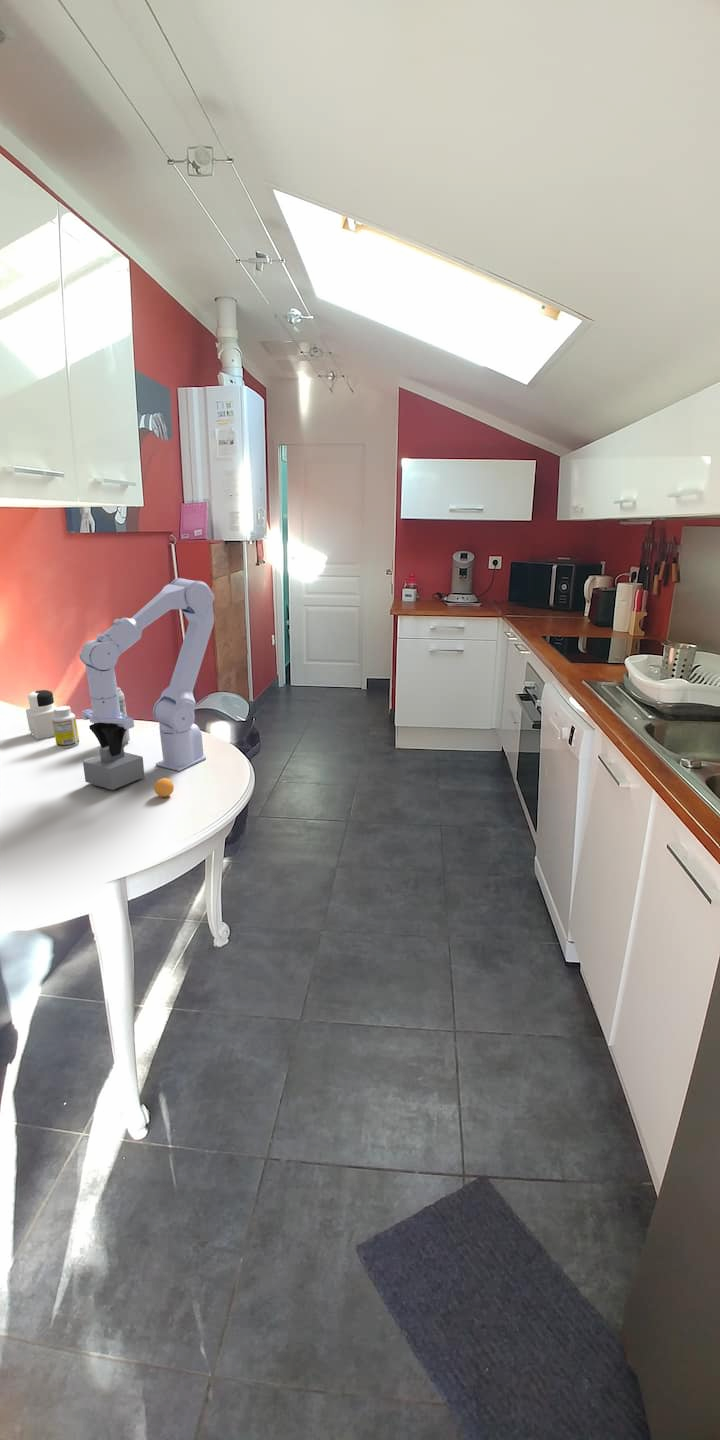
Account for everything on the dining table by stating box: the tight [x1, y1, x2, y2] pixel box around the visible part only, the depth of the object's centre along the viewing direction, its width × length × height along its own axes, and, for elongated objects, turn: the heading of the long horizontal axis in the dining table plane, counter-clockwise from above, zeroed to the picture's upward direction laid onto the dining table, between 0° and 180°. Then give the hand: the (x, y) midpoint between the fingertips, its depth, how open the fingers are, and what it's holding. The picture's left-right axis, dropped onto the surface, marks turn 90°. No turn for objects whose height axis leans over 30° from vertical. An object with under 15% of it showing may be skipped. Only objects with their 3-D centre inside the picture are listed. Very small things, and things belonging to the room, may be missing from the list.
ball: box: [154, 777, 175, 798], centre depth 145 cm, size 4×4×4 cm
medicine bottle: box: [25, 689, 57, 740], centre depth 183 cm, size 7×7×12 cm
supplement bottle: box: [52, 705, 80, 749], centre depth 175 cm, size 6×6×10 cm
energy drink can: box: [117, 686, 131, 747], centre depth 174 cm, size 6×6×15 cm
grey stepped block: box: [82, 744, 145, 791], centre depth 152 cm, size 9×9×8 cm
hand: (112, 753), depth 151 cm, fingers closed on grey stepped block
